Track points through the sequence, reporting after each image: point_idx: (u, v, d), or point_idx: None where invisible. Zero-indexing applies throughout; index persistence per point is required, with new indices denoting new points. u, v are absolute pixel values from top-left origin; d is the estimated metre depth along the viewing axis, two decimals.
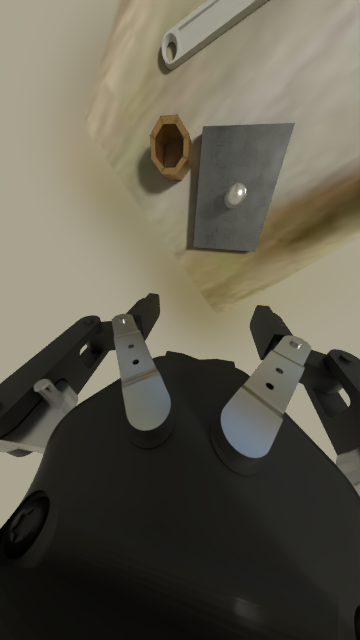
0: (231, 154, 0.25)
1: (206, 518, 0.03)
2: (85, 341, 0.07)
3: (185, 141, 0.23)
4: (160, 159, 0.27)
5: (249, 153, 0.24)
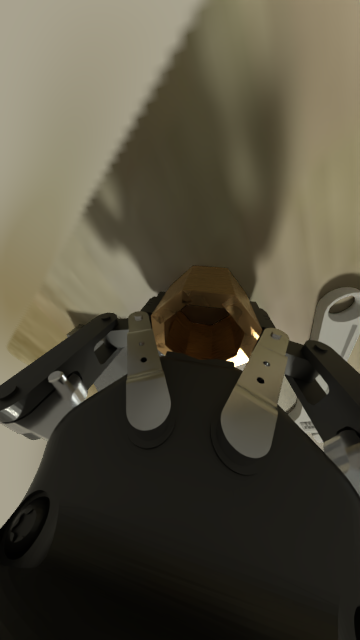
0: None
1: (206, 518, 0.03)
2: (100, 337, 0.08)
3: None
4: None
5: None
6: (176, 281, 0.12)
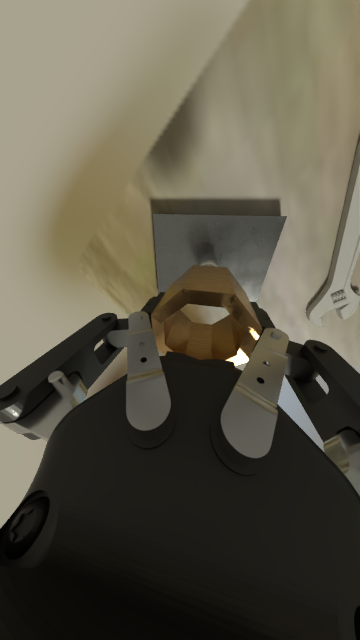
0: (248, 259, 0.22)
1: (206, 518, 0.03)
2: (100, 337, 0.08)
3: None
4: None
5: (244, 277, 0.24)
6: (176, 280, 0.12)
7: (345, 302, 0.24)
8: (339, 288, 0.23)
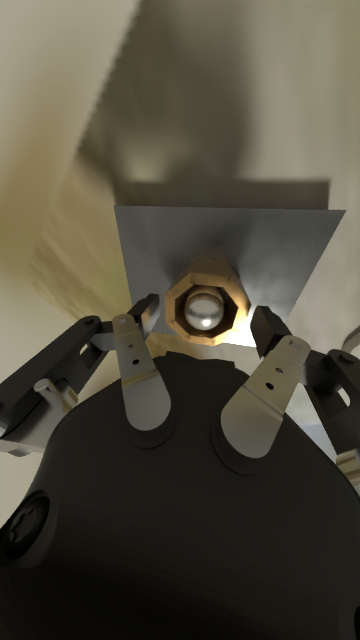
0: (269, 279, 0.14)
1: (206, 518, 0.03)
2: (85, 341, 0.07)
3: (206, 340, 0.13)
4: None
5: None
6: (183, 270, 0.14)
7: None
8: None
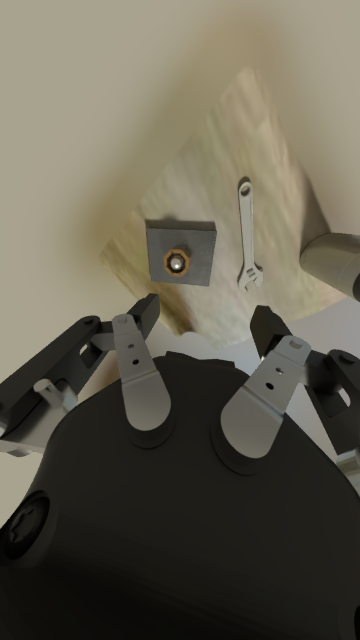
0: (201, 254, 0.38)
1: (206, 518, 0.03)
2: (85, 341, 0.07)
3: (178, 274, 0.38)
4: None
5: (200, 265, 0.40)
6: None
7: (255, 276, 0.40)
8: (249, 267, 0.39)
